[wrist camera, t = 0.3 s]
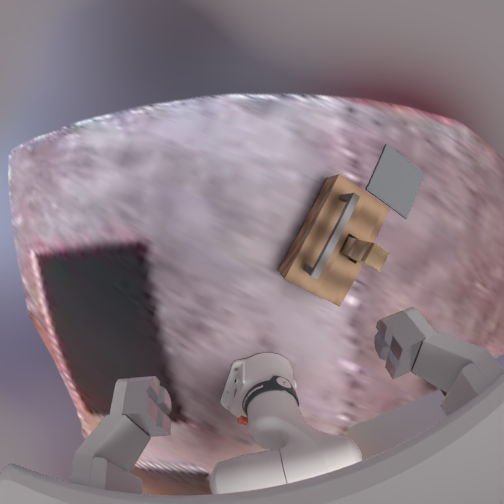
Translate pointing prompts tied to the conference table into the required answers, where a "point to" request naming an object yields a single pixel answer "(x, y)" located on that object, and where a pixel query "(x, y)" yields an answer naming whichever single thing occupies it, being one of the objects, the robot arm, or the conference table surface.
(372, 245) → the wooden key
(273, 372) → the robot arm
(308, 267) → the toolbox
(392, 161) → the slate mat
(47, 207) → the conference table surface
